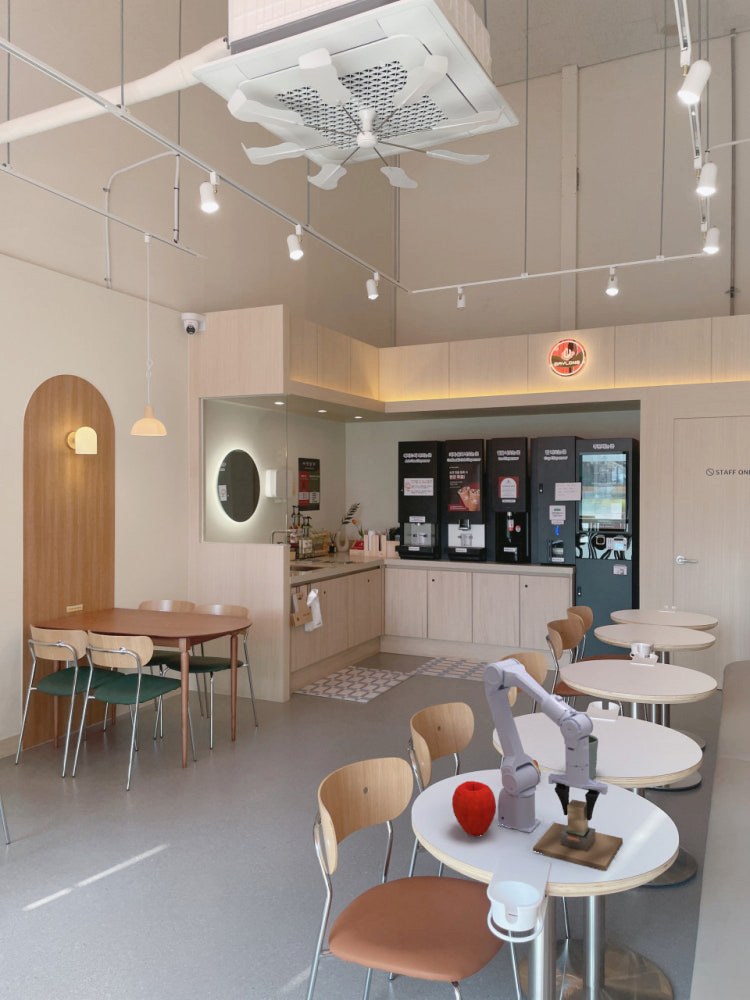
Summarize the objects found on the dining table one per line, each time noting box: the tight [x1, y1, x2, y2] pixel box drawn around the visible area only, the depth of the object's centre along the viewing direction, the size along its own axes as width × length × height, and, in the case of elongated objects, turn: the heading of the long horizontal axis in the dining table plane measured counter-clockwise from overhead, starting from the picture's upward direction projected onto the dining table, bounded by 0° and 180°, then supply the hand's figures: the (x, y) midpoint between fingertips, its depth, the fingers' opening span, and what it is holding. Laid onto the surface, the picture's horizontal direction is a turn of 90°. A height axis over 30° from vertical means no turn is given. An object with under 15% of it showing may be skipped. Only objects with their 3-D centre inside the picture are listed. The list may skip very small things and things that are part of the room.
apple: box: [451, 780, 497, 837], centre depth 199 cm, size 12×12×13 cm
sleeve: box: [561, 824, 596, 852], centre depth 190 cm, size 7×7×3 cm
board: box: [532, 822, 624, 872], centre depth 190 cm, size 18×16×1 cm
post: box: [567, 799, 590, 836], centre depth 190 cm, size 4×4×7 cm
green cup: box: [586, 734, 599, 781], centre depth 236 cm, size 10×10×12 cm
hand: (577, 816), depth 190 cm, fingers open, 5 cm apart
